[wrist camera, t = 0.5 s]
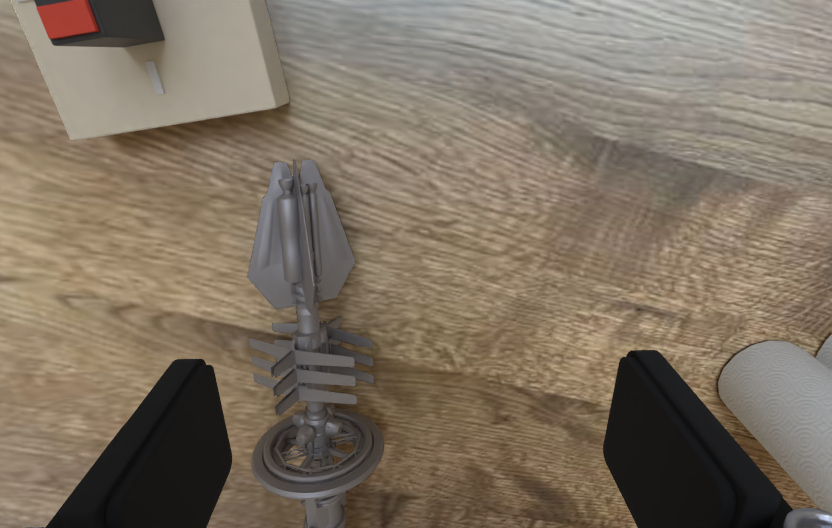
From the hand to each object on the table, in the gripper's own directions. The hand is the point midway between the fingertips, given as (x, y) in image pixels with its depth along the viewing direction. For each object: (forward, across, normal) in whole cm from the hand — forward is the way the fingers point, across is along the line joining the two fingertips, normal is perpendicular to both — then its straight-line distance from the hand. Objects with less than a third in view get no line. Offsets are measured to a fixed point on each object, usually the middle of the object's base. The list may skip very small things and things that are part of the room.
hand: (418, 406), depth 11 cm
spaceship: (+18, +6, +15) cm, 24 cm away
